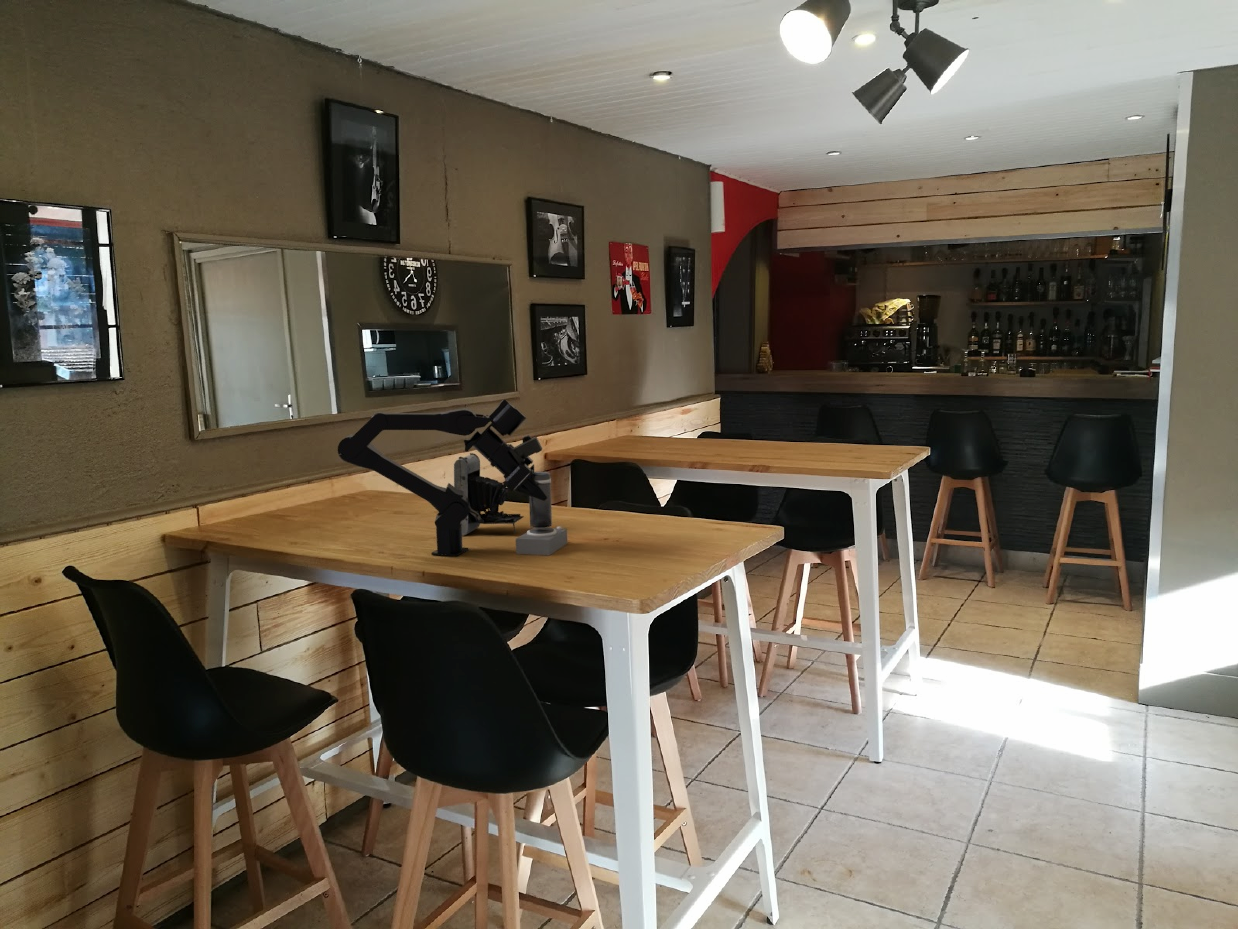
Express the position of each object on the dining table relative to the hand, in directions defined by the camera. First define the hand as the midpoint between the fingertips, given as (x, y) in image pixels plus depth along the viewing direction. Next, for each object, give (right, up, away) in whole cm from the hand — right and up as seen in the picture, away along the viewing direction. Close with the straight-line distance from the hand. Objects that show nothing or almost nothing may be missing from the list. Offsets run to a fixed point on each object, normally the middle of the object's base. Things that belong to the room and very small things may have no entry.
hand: (546, 497), depth 205 cm
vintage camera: (-16, -10, +21) cm, 28 cm away
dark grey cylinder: (-1, -7, +1) cm, 7 cm away
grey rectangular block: (-1, -12, +2) cm, 12 cm away
